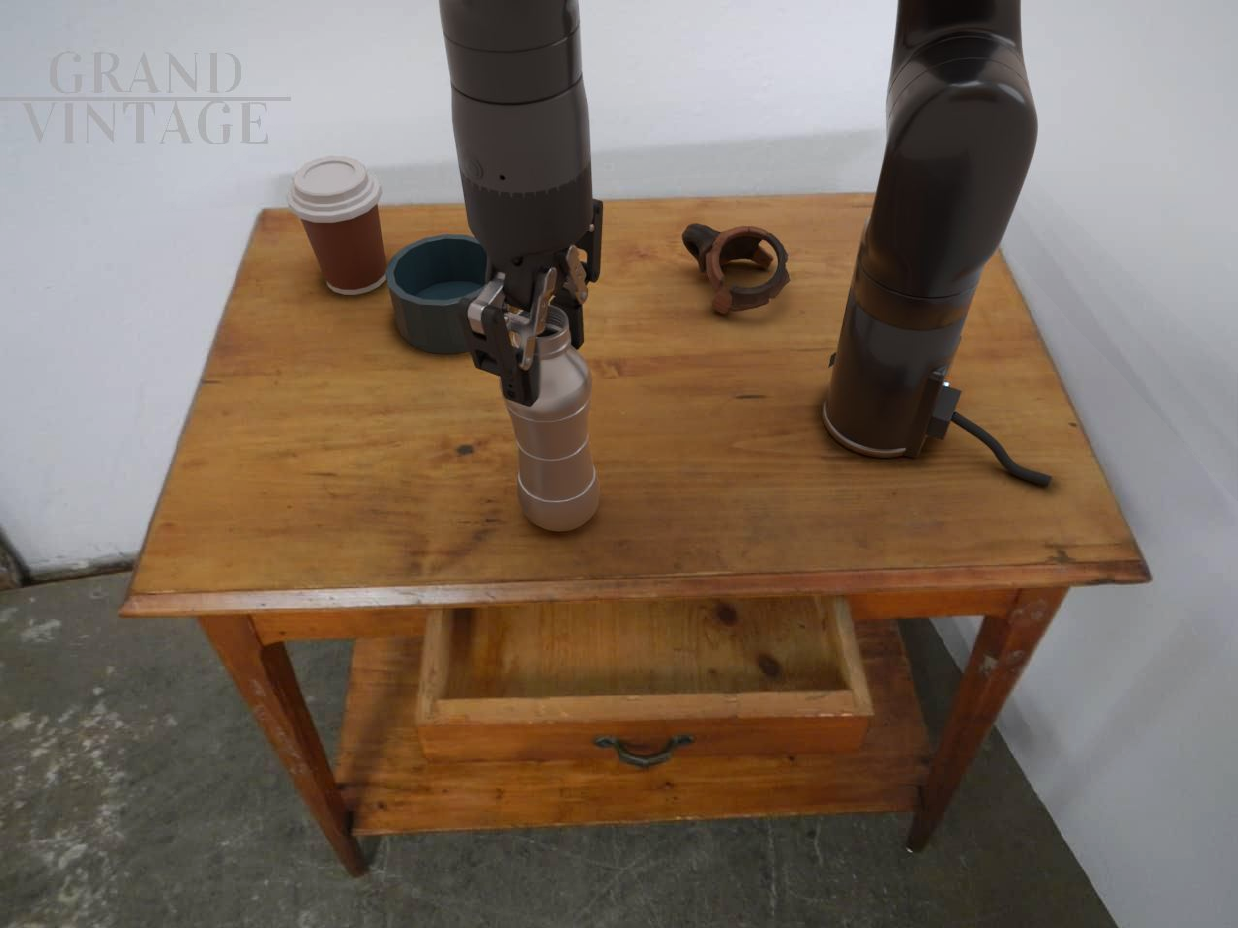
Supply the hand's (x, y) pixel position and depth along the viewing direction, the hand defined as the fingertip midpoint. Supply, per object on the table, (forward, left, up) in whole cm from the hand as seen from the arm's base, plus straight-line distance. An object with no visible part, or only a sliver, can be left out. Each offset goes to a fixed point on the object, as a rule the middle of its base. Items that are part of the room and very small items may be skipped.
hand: (546, 370), depth 65 cm
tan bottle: (0, 0, -16) cm, 16 cm away
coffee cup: (+35, -18, -16) cm, 43 cm away
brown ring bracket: (-1, -34, -16) cm, 38 cm away
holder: (+22, -17, -16) cm, 32 cm away
